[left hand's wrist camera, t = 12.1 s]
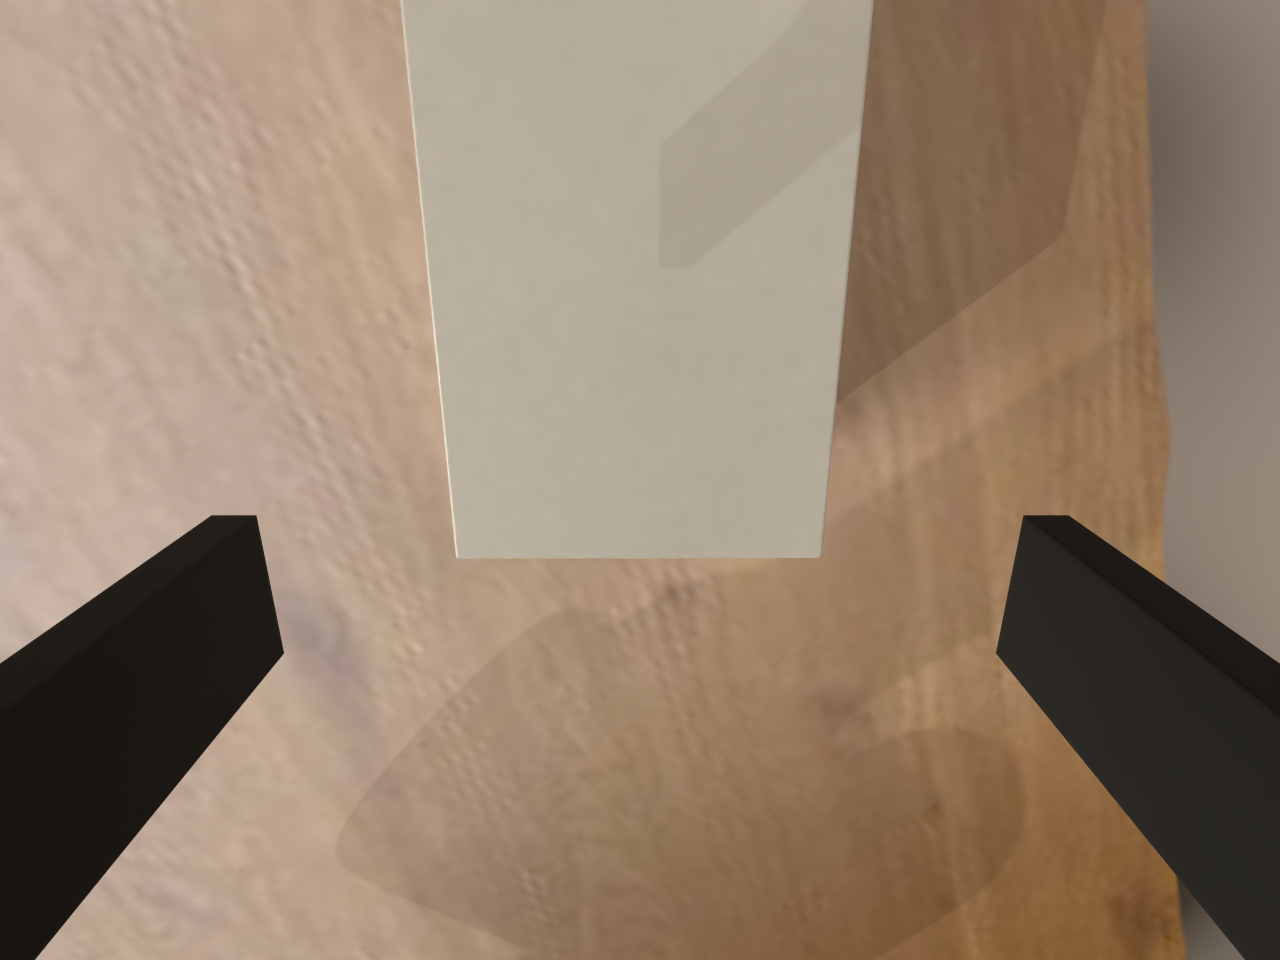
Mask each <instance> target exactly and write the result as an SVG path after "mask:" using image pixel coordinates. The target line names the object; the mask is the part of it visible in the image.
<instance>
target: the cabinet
mask: <svg viewBox="0 0 1280 960" xmlns="http://www.w3.org/2000/svg"><path fill="white" fill-rule="evenodd" d="M400 3H401V13H402V23H403V33H404V43H405V53H406V63H407V73H408V83H409V93H410V103H411V113H412V123H413V133H414V143H415V153H416V163H417V173H418V183H419V193H420V203H421V213H422V223H423V233H424V243H425V253H426V263H427V272H428V282H429V292H430V302H431V312H432V322H433V332H434V342H435V352H436V362H437V372H438V382H439V392H440V402H441V412H442V422H443V432H444V442H445V452H446V462H447V472H448V482H449V492H450V502H451V512H452V522H453V532H454V542H455V552H456V557H457V558H459V559H502V558H820V557H821V556H822V549H823V539H824V528H825V517H826V507H827V496H828V485H829V475H830V464H831V453H832V443H833V432H834V421H835V411H836V400H837V389H838V379H839V368H840V358H841V347H842V336H843V326H844V315H845V304H846V294H847V283H848V272H849V262H850V251H851V240H852V230H853V219H854V208H855V198H856V187H857V176H858V166H859V155H860V144H861V134H862V123H863V112H864V102H865V91H866V80H867V70H868V59H869V49H870V38H871V27H872V17H873V6H874V0H400Z"/></svg>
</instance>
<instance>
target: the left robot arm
mask: <svg viewBox="0 0 1280 960" xmlns="http://www.w3.org/2000/svg"><path fill="white" fill-rule="evenodd" d="M283 654H284V651H283V646H282V641H281V636H280V631H279V626H278V621H277V616H276V611H275V606H274V601H273V596H272V591H271V586H270V581H269V576H268V571H267V566H266V561H265V556H264V551H263V546H262V541H261V536H260V531H259V526H258V521H257V516H256V515H212V516H210V517H209V518H207V519H206V520H204V521H203V522H202V523H200V524H199V525H197V526H196V527H194V528H193V529H192V530H190V531H189V532H187V533H186V534H184V535H183V536H182V537H180V538H179V539H177V540H176V541H174V542H173V543H172V544H170V545H169V546H167V547H166V548H164V549H163V550H162V551H160V552H159V553H157V554H156V555H154V556H153V557H152V558H150V559H149V560H147V561H146V562H144V563H143V564H142V565H140V566H139V567H137V568H136V569H134V570H133V571H132V572H130V573H129V574H127V575H126V576H124V577H123V578H122V579H120V580H119V581H117V582H116V583H115V584H113V585H112V586H110V587H109V588H107V589H106V590H105V591H103V592H102V593H100V594H99V595H97V596H96V597H95V598H93V599H92V600H90V601H89V602H87V603H86V604H85V605H83V606H82V607H80V608H79V609H77V610H76V611H75V612H73V613H72V614H70V615H69V616H67V617H66V618H65V619H63V620H62V621H60V622H59V623H57V624H56V625H55V626H53V627H52V628H50V629H49V630H47V631H46V632H45V633H43V634H42V635H40V636H39V637H37V638H36V639H35V640H33V641H32V642H30V643H29V644H27V645H26V646H25V647H23V648H22V649H20V650H19V651H17V652H16V653H15V654H13V655H12V656H10V657H9V658H7V659H6V660H5V661H3V662H2V663H0V960H35V959H36V958H37V956H38V955H39V954H40V953H41V952H42V950H43V949H44V948H45V947H46V945H47V944H48V943H49V942H50V940H51V939H52V938H53V937H54V936H55V934H56V933H57V932H58V931H59V929H60V928H61V927H62V926H63V925H64V923H65V922H66V921H67V920H68V918H69V917H70V916H71V915H72V913H73V912H74V911H75V910H76V909H77V907H78V906H79V905H80V904H81V902H82V901H83V900H84V899H85V897H86V896H87V895H88V894H89V893H90V891H91V890H92V889H93V888H94V886H95V885H96V884H97V883H98V881H99V880H100V879H101V878H102V877H103V875H104V874H105V873H106V872H107V870H108V869H109V868H110V867H111V865H112V864H113V863H114V862H115V861H116V859H117V858H118V857H119V856H120V854H121V853H122V852H123V851H124V849H125V848H126V847H127V846H128V845H129V843H130V842H131V841H132V840H133V838H134V837H135V836H136V835H137V833H138V832H139V831H140V830H141V829H142V827H143V826H144V825H145V824H146V822H147V821H148V820H149V819H150V817H151V816H152V815H153V814H154V813H155V811H156V810H157V809H158V808H159V806H160V805H161V804H162V803H163V801H164V800H165V799H166V798H167V797H168V795H169V794H170V793H171V792H172V790H173V789H174V788H175V787H176V785H177V784H178V783H179V782H180V781H181V779H182V778H183V777H184V776H185V774H186V773H187V772H188V771H189V769H190V768H191V767H192V766H193V765H194V763H195V762H196V761H197V760H198V758H199V757H200V756H201V755H202V753H203V752H204V751H205V750H206V749H207V747H208V746H209V745H210V744H211V742H212V741H213V740H214V739H215V737H216V736H217V735H218V734H219V733H220V731H221V730H222V729H223V728H224V726H225V725H226V724H227V723H228V721H229V720H230V719H231V718H232V717H233V715H234V714H235V713H236V712H237V710H238V709H239V708H240V707H241V705H242V704H243V703H244V702H245V701H246V699H247V698H248V697H249V696H250V694H251V693H252V692H253V691H254V690H255V688H256V687H257V686H258V685H259V683H260V682H261V681H262V680H263V678H264V677H265V676H266V675H267V674H268V672H269V671H270V670H271V669H272V667H273V666H274V665H275V664H276V662H277V661H278V660H279V659H280V658H281V656H282V655H283ZM996 654H997V655H998V656H999V658H1000V659H1001V660H1002V661H1003V662H1004V664H1005V665H1006V666H1007V667H1008V669H1009V670H1010V671H1011V672H1012V674H1013V675H1014V676H1015V677H1016V678H1017V680H1018V681H1019V682H1020V683H1021V685H1022V686H1023V687H1024V688H1025V690H1026V691H1027V692H1028V693H1029V694H1030V696H1031V697H1032V698H1033V699H1034V701H1035V702H1036V703H1037V704H1038V705H1039V707H1040V708H1041V709H1042V710H1043V712H1044V713H1045V714H1046V715H1047V717H1048V718H1049V719H1050V720H1051V721H1052V723H1053V724H1054V725H1055V726H1056V728H1057V729H1058V730H1059V731H1060V733H1061V734H1062V735H1063V736H1064V737H1065V739H1066V740H1067V741H1068V742H1069V744H1070V745H1071V746H1072V747H1073V749H1074V750H1075V751H1076V752H1077V753H1078V755H1079V756H1080V757H1081V758H1082V760H1083V761H1084V762H1085V763H1086V765H1087V766H1088V767H1089V768H1090V769H1091V771H1092V772H1093V773H1094V774H1095V776H1096V777H1097V778H1098V779H1099V781H1100V782H1101V783H1102V784H1103V785H1104V787H1105V788H1106V789H1107V790H1108V792H1109V793H1110V794H1111V795H1112V797H1113V798H1114V799H1115V800H1116V801H1117V803H1118V804H1119V805H1120V806H1121V808H1122V809H1123V810H1124V811H1125V813H1126V814H1127V815H1128V816H1129V817H1130V819H1131V820H1132V821H1133V822H1134V824H1135V825H1136V826H1137V827H1138V829H1139V830H1140V831H1141V832H1142V833H1143V835H1144V836H1145V837H1146V838H1147V840H1148V841H1149V842H1150V843H1151V845H1152V846H1153V847H1154V848H1155V849H1156V851H1157V852H1158V853H1159V854H1160V856H1161V857H1162V858H1163V859H1164V861H1165V862H1166V863H1167V864H1168V865H1169V867H1170V868H1171V869H1172V870H1173V872H1174V873H1175V874H1176V875H1177V877H1178V878H1179V879H1180V880H1181V881H1182V883H1183V884H1184V885H1185V886H1186V888H1187V889H1188V890H1189V891H1190V893H1191V894H1192V895H1193V896H1194V897H1195V899H1196V900H1197V901H1198V902H1199V904H1200V905H1201V906H1202V907H1203V909H1204V910H1205V911H1206V912H1207V913H1208V915H1209V916H1210V917H1211V918H1212V920H1213V921H1214V922H1215V923H1216V925H1217V926H1218V927H1219V928H1220V929H1221V931H1222V932H1223V933H1224V934H1225V936H1226V937H1227V938H1228V939H1229V940H1230V942H1231V943H1232V944H1233V945H1234V947H1235V948H1236V949H1237V950H1238V952H1239V953H1240V954H1241V955H1242V956H1243V958H1244V959H1245V960H1280V663H1278V662H1277V661H1275V660H1274V659H1272V658H1271V657H1270V656H1268V655H1267V654H1265V653H1264V652H1262V651H1261V650H1260V649H1258V648H1257V647H1255V646H1254V645H1252V644H1251V643H1250V642H1248V641H1247V640H1245V639H1244V638H1243V637H1241V636H1240V635H1238V634H1237V633H1235V632H1234V631H1233V630H1231V629H1230V628H1228V627H1227V626H1225V625H1224V624H1223V623H1221V622H1220V621H1218V620H1217V619H1215V618H1214V617H1213V616H1211V615H1210V614H1208V613H1207V612H1205V611H1204V610H1203V609H1201V608H1200V607H1198V606H1197V605H1195V604H1194V603H1193V602H1191V601H1190V600H1188V599H1187V598H1185V597H1184V596H1183V595H1181V594H1180V593H1178V592H1177V591H1175V590H1174V589H1173V588H1171V587H1170V586H1168V585H1167V584H1165V583H1164V582H1163V581H1161V580H1160V579H1158V578H1157V577H1156V576H1154V575H1153V574H1151V573H1150V572H1148V571H1147V570H1146V569H1144V568H1143V567H1141V566H1140V565H1138V564H1137V563H1136V562H1134V561H1133V560H1131V559H1130V558H1128V557H1127V556H1126V555H1124V554H1123V553H1121V552H1120V551H1118V550H1117V549H1116V548H1114V547H1113V546H1111V545H1110V544H1108V543H1107V542H1106V541H1104V540H1103V539H1101V538H1100V537H1098V536H1097V535H1096V534H1094V533H1093V532H1091V531H1090V530H1088V529H1087V528H1086V527H1084V526H1083V525H1081V524H1080V523H1078V522H1077V521H1076V520H1074V519H1073V518H1071V517H1070V516H1068V515H1024V516H1023V521H1022V526H1021V531H1020V536H1019V541H1018V546H1017V551H1016V556H1015V561H1014V566H1013V571H1012V576H1011V581H1010V586H1009V591H1008V596H1007V601H1006V606H1005V611H1004V616H1003V621H1002V626H1001V631H1000V636H999V641H998V646H997V651H996Z"/></svg>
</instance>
